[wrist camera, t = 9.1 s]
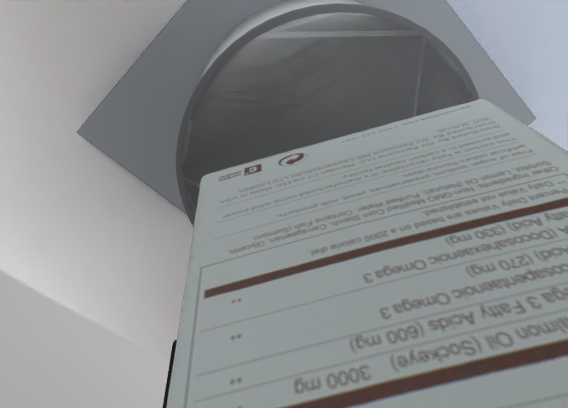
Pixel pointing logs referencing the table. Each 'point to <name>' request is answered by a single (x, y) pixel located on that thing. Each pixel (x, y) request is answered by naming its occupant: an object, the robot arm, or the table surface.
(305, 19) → the duct stub
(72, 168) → the table surface
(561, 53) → the table surface
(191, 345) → the supplement box
